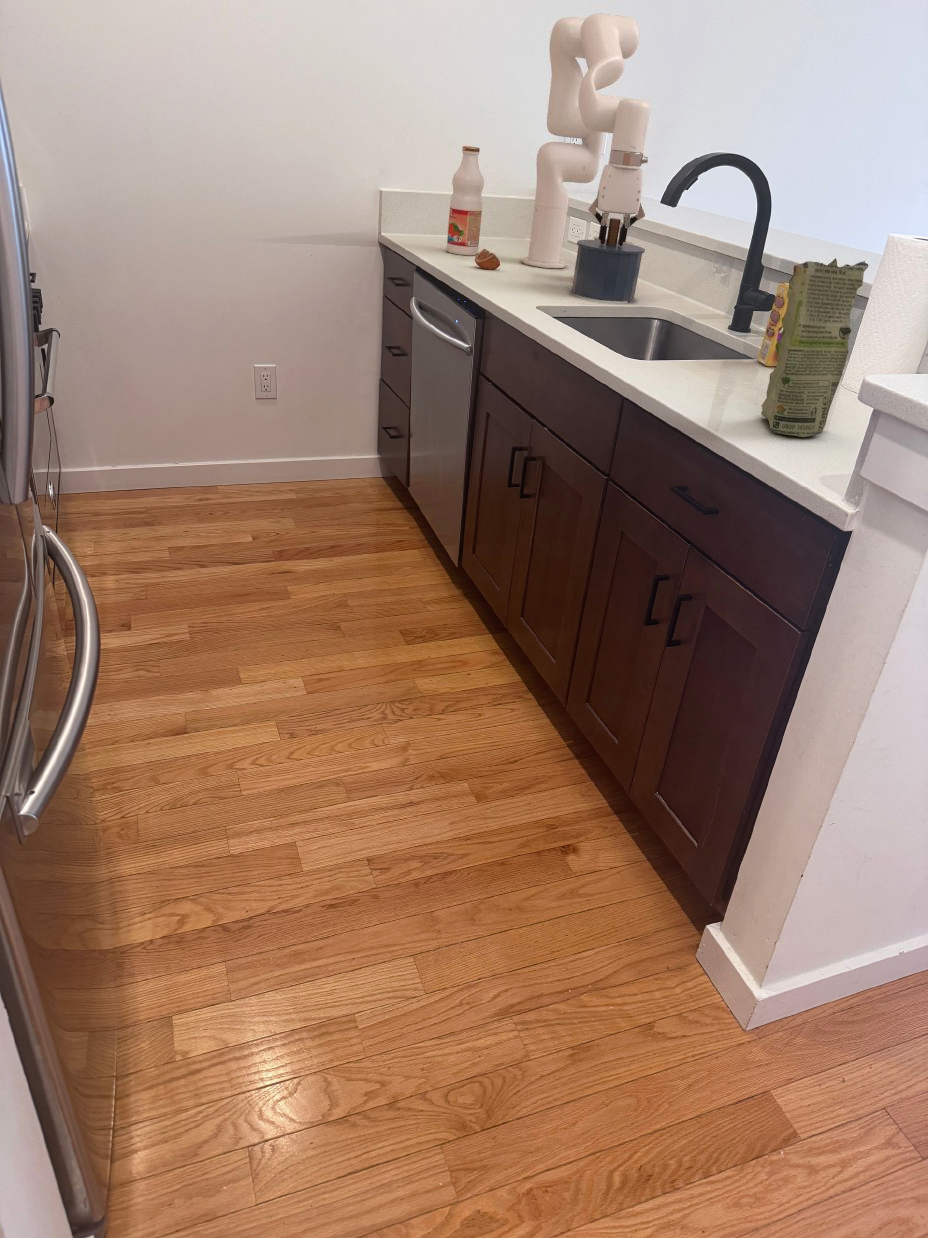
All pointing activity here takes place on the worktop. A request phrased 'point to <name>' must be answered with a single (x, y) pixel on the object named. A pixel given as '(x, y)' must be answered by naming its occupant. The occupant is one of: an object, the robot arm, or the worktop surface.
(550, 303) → the worktop surface
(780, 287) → the candy box
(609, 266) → the pot
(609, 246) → the lid
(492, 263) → the fruit slice
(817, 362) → the pouch
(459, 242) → the fruit juice
